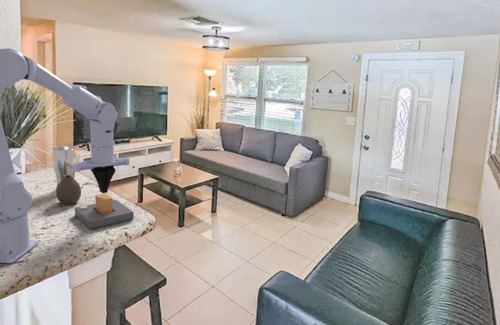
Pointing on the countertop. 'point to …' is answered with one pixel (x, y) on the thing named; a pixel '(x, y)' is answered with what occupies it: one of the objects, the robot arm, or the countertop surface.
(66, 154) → the metal tumbler
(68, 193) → the vase
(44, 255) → the countertop surface
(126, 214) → the socket
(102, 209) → the plug
